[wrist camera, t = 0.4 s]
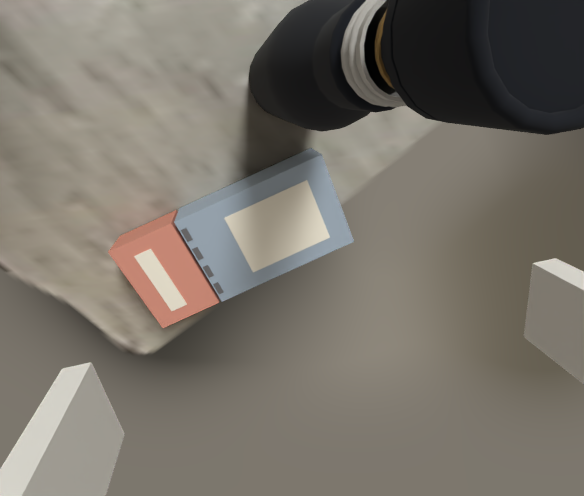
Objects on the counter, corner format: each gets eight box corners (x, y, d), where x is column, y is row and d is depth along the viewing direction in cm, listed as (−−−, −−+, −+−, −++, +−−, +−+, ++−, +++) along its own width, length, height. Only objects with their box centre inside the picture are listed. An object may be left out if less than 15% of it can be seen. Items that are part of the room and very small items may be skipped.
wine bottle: (276, 131, 34) (482, 274, 7) (233, 69, 32) (292, -97, 4) (332, 89, 34) (799, 62, 6) (293, 21, 31) (796, -515, 4)
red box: (120, 235, 35) (107, 252, 32) (176, 209, 35) (170, 223, 32) (168, 306, 39) (162, 328, 35) (219, 283, 39) (219, 303, 35)
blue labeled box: (179, 208, 35) (173, 222, 31) (310, 147, 35) (321, 154, 31) (222, 281, 39) (221, 302, 35) (341, 226, 39) (354, 241, 35)
